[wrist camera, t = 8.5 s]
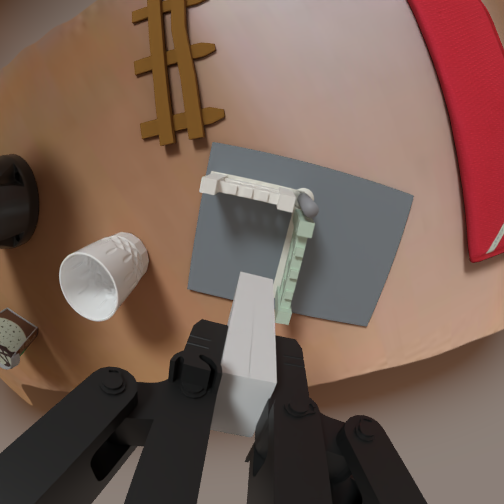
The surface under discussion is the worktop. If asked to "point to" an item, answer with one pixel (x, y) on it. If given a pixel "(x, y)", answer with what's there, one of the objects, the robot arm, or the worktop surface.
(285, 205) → the fixed fence panel
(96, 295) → the white cup
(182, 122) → the decorative fence
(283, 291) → the hinged fence panel
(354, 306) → the card
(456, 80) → the dish drying mat
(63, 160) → the worktop surface
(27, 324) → the food container
